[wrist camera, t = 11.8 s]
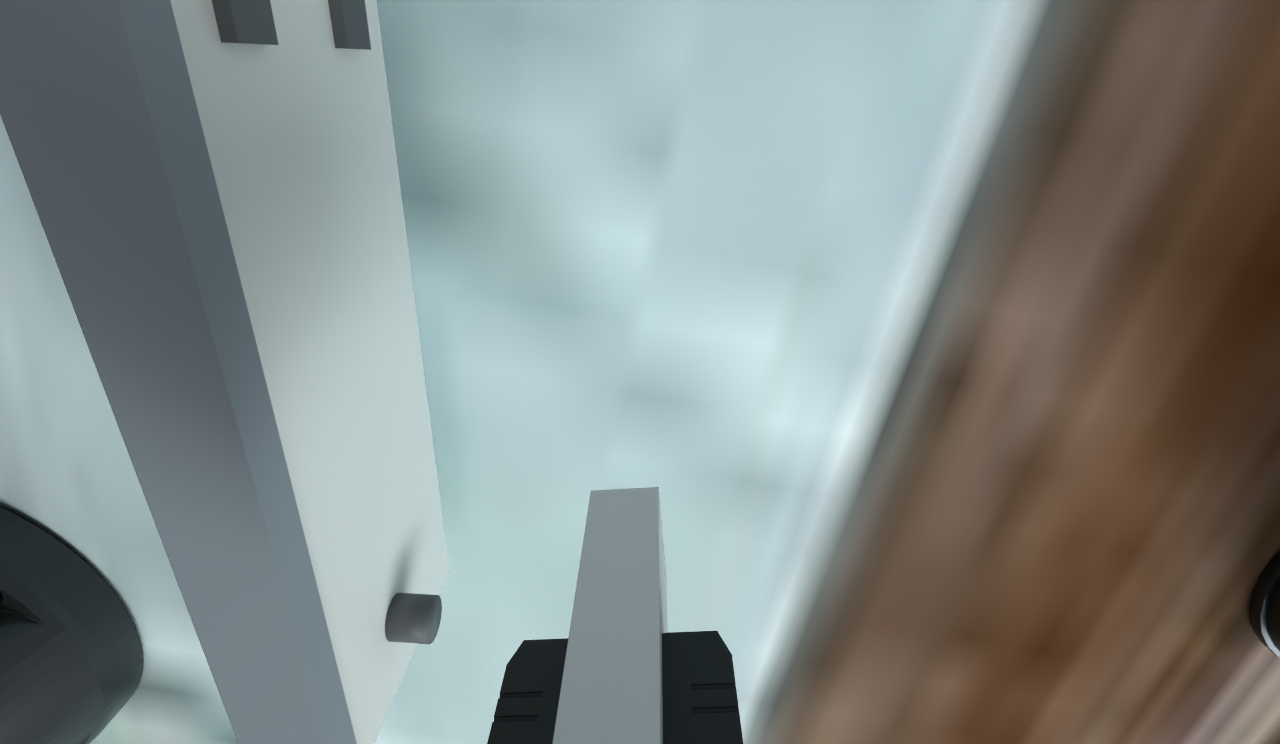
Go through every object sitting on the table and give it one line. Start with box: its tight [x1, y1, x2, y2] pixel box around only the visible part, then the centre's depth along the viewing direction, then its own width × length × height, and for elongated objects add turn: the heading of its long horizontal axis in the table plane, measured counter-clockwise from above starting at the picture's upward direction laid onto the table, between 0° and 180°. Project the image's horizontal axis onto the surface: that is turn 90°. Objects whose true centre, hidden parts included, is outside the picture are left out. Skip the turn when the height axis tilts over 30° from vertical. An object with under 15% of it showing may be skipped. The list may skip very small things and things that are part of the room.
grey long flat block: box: [0, 0, 450, 744], centre depth 15 cm, size 23×3×9 cm, turn 178°
